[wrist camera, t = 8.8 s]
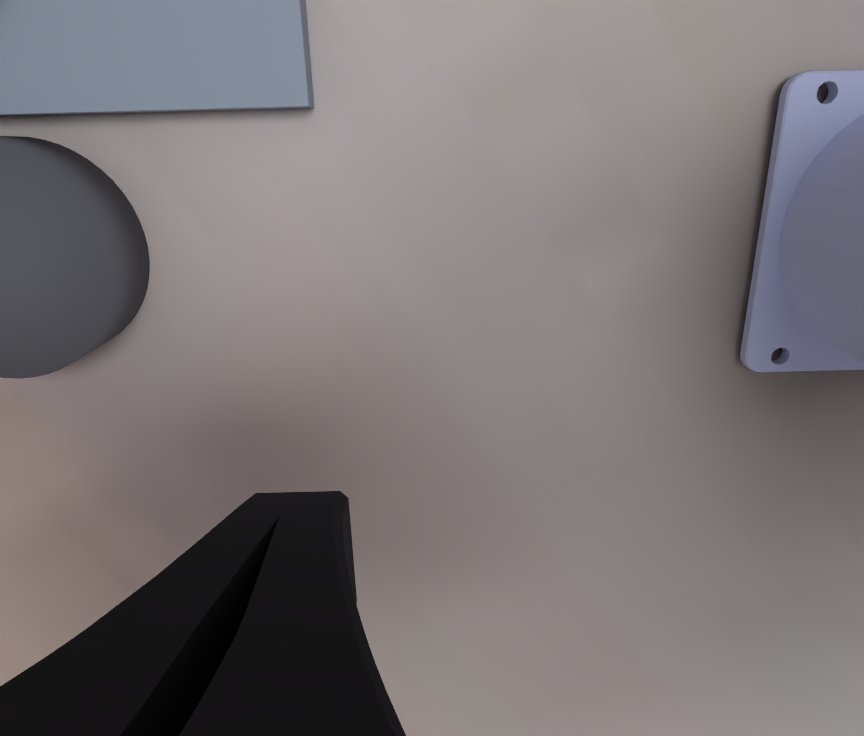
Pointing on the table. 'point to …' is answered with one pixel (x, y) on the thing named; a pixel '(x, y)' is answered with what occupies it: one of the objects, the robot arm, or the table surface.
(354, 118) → the table surface
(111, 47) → the board
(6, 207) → the dark gray cylinder
